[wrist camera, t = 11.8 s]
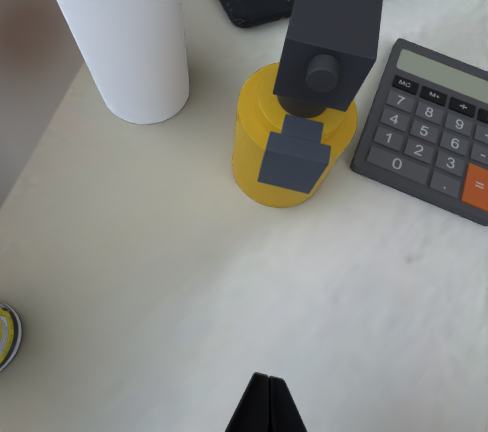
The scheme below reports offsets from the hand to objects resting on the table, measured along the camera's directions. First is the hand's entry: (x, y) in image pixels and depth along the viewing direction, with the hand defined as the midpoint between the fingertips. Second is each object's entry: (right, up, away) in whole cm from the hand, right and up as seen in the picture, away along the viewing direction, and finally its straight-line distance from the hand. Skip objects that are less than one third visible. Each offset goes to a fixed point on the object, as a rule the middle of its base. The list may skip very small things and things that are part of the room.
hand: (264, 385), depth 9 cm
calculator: (+16, +12, +20) cm, 28 cm away
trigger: (+2, +7, +9) cm, 11 cm away
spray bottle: (+2, +9, +17) cm, 19 cm away
